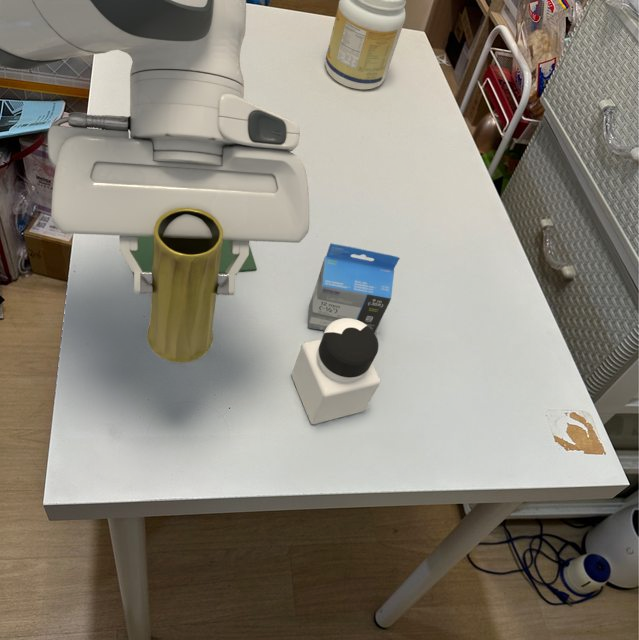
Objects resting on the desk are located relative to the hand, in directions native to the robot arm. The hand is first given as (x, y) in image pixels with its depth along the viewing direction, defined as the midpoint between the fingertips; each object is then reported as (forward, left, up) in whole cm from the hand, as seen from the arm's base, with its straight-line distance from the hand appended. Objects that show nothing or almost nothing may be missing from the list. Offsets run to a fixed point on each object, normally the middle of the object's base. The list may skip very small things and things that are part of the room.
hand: (185, 294), depth 50 cm
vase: (0, +1, -8) cm, 8 cm away
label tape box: (+23, +9, -22) cm, 33 cm away
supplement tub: (+45, +66, -22) cm, 83 cm away
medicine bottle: (+18, -1, -22) cm, 28 cm away
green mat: (+6, +26, -21) cm, 35 cm away
